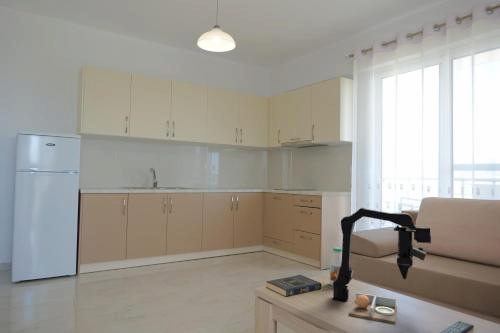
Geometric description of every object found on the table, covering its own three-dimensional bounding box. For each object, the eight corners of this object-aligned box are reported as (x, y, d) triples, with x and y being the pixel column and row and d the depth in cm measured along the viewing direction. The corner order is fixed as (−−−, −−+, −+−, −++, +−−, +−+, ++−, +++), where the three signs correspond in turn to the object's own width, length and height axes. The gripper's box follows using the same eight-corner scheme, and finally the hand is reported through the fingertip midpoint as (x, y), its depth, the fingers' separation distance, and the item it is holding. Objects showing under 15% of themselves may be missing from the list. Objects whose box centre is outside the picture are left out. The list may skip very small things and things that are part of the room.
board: (348, 315, 144) (348, 304, 144) (355, 302, 160) (355, 292, 160) (395, 324, 136) (395, 312, 136) (396, 309, 152) (396, 298, 152)
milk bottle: (326, 283, 188) (327, 246, 189) (338, 282, 191) (338, 246, 192) (335, 287, 181) (336, 249, 182) (347, 286, 184) (347, 248, 185)
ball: (355, 308, 149) (355, 295, 149) (357, 304, 154) (357, 292, 154) (368, 311, 146) (368, 298, 146) (370, 307, 151) (370, 294, 152)
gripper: (426, 246, 141) (425, 284, 140) (424, 240, 158) (424, 274, 157) (396, 244, 146) (396, 280, 145) (398, 237, 163) (398, 270, 162)
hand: (404, 276), depth 152 cm, fingers open, 9 cm apart
